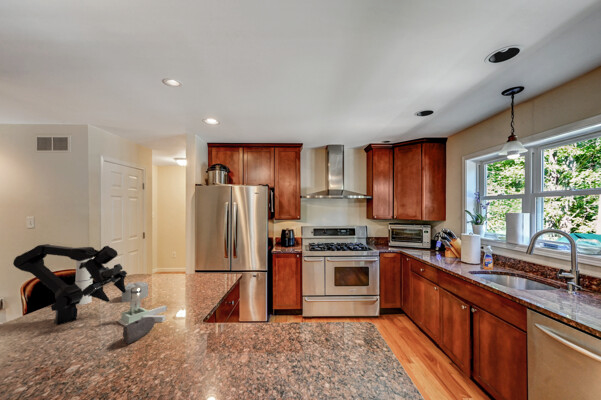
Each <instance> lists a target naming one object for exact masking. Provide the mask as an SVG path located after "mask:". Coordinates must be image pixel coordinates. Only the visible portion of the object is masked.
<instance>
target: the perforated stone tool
mask: <svg viewBox="0 0 601 400" xmlns="http://www.w3.org/2000/svg"><path fill="white" fill-rule="evenodd" d="M155 323H156V322H155V319H154V318H153V317H146V318H143V319H140V320H137V321H134V322H132V323H130V324H128V325H126V326H124V325H123V327H122V331H123V332H122V337H123V338H124V339H123V342H124V343H126V344H128V345H129V344H131V343H134V342H136V341H138V340H139V339H142V337H144V336H145V335H147V334H148V333H149V332H150V331H151V330H152V329H153V328H154V326H155Z"/></svg>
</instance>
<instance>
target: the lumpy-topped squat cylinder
mask: <svg viewBox="0 0 601 400" xmlns="http://www.w3.org/2000/svg"><path fill="white" fill-rule="evenodd" d="M137 286H140V287H141V300H143V299H144V298H146V297H148V296H149V283H148V282H145V281H135V282H134V283H133V281H132V282H128V283H126V285H125V289H126V292H125V293H123V292H121V297H120V298H121V301H120V302H121V303H130V297H131V293H130V291H131V288H132V287H137Z"/></svg>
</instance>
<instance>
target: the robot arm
mask: <svg viewBox="0 0 601 400" xmlns="http://www.w3.org/2000/svg"><path fill="white" fill-rule="evenodd" d="M47 255H51V256H59V257H66V258H69V259H70V260H73V261H83V260H87V259H89V260H88V261H86V262H83V263H81V265H80V267H79V269H82V268H86V270H87V271H88V272H89V274H90V275H91V276H90V277H89V278H90V279H92V278H93V280H94V282H92V284H90V285H89V286H87V287H86V288H85V289H84V290H83V291H82V289H81V288H79V287H78V286H77V285H76V284H75V283H73V284H71V285H70V284H67V283H66V282H65V281H64V280H62V279H61V278H59V276H58V275H56V274H55V272H53V271H52V270H50V269H49V268H48V267H47V266H46V265H45V260H44V259H45V258H46V257H47ZM93 257H94V258H93ZM116 257H118V252H117V250H116V249H114V248H113V247H110V246H109V245H105V246H103V247H102V248H101V249H100V250H97V249H95V247H93V246H82V247H70V246H62V245H56V244H55V245H54V244H50V243H47V244H39V245H37V246H35V247H34V248H32V249H30V250H28V251H24V253H21V254H20V255H17V256H16V257H15V258H14V259H13V266H14V267H15V268H16V269H18V270H20V271H21V272H26V273H30V274H32V275H33V276H34V277H35V278H37V280H39V281H40V282H41V283H42V284H43V285H45V286H46V287H47V288H48V289H49V290H51V292H52V293H54V299H55V300H56V301H55V302H54V303H52V305H50V308H51V311H52V312H55V320H53V322H54V323H55V324H56V325H58V326H59V325H63V324H66V323H70V322H74V321H77V320H78V307H77V305H76V304H79V303H80V300H81V299H82V297H83V295H84V296H87V295H88V297H89V296H92V298H94V299H98V300H101V301H103V302H106V303H109V302H110V300H111V299H109V297H108V296H107V294H106V292H105V291H104V286H106V285H108V284H110V283H113V284H112V285H113V286H115V287H116V288H117V290H119V291H120V292H121V293H122V292H123V293H125V292H126V289H125V286H126V285H125V278H126V277H127V275H128V272H127V271H126V270H123V266H122V265H121V263H117V264H115V265H113V267H112V268H110V267H108V266H104V265H107V264H108V263H110V262H111V261H113V260H114V259H115V258H116ZM91 258H93V259H91ZM89 294H90V295H89Z"/></svg>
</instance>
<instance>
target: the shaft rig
mask: <svg viewBox="0 0 601 400" xmlns="http://www.w3.org/2000/svg"><path fill="white" fill-rule="evenodd" d="M166 311H168V306H167V305H161V306H158V307H155V308H152V309H149V310H147V309H146V308H143V307H141V306H140V313H138V314H135V315H131V316H130V310H127V311H123V312H121V316H120V319H117V323H119V324H121V325H123V327H124V326H126V325H128V324H130V323H132V322H134V321H137V320H140V319H143V318H146V317H153V318H154V319H155V323H163V322H165V321H166V315H165V314H161V313H164V312H166Z"/></svg>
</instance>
